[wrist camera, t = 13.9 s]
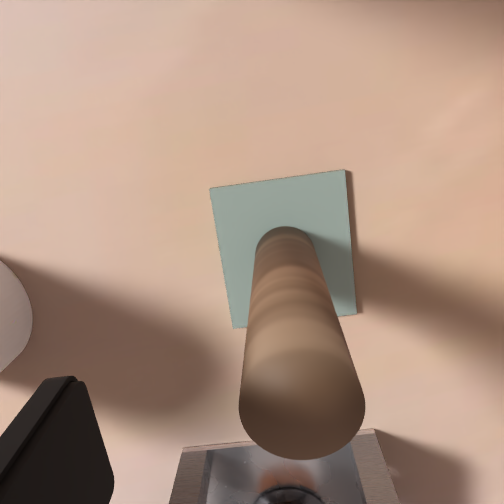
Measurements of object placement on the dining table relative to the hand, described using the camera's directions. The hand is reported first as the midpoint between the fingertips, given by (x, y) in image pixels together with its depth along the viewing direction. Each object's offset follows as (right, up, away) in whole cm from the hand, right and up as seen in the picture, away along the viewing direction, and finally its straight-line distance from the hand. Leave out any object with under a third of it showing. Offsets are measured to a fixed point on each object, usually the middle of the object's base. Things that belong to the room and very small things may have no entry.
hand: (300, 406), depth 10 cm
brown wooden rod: (+1, +3, +14) cm, 14 cm away
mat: (+1, +3, +14) cm, 15 cm away
